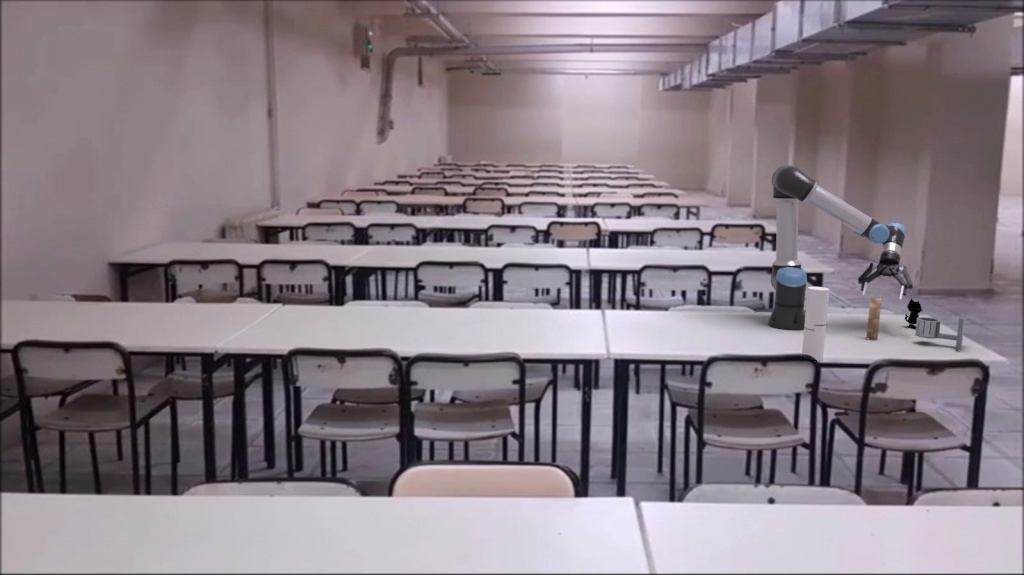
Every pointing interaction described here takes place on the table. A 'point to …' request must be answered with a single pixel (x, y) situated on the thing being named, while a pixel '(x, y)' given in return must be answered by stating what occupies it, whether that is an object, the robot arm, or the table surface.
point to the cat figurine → (913, 313)
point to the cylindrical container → (815, 322)
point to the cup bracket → (932, 330)
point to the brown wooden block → (873, 318)
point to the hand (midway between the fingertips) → (881, 299)
